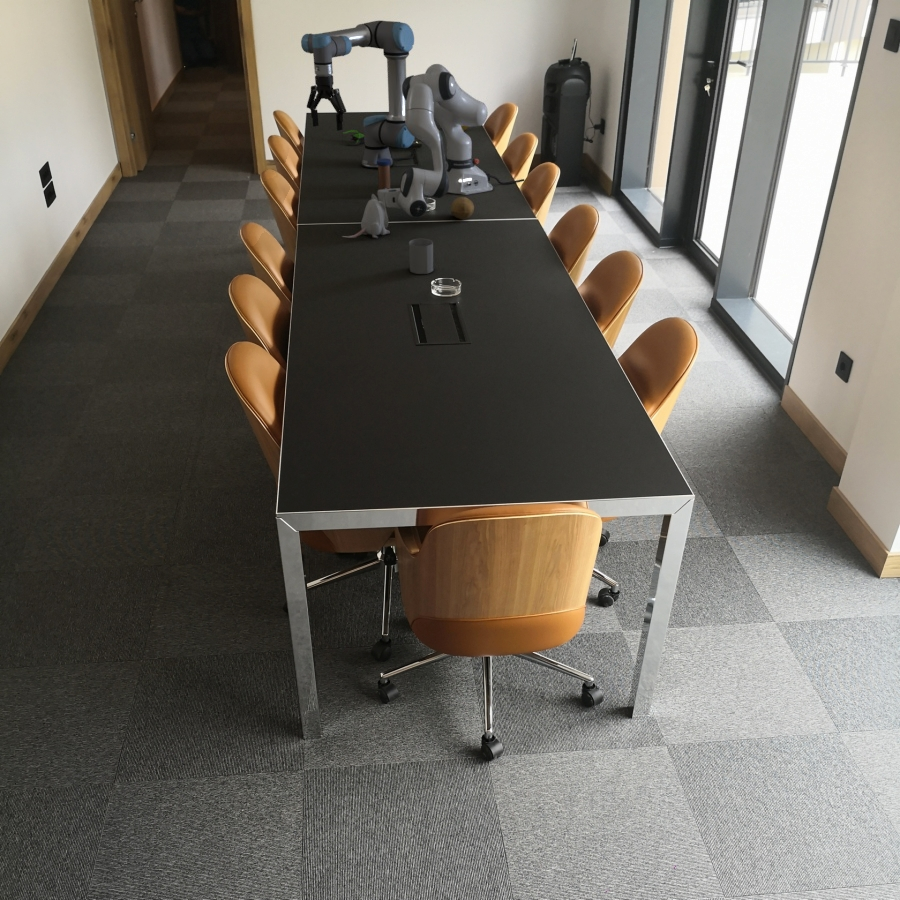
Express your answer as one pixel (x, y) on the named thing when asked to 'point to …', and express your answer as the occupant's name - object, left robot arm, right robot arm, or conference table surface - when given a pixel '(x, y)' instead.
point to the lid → (383, 162)
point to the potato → (462, 208)
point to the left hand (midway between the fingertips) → (327, 128)
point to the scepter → (355, 137)
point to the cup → (421, 256)
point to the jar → (384, 177)
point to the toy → (374, 219)
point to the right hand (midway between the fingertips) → (397, 188)
